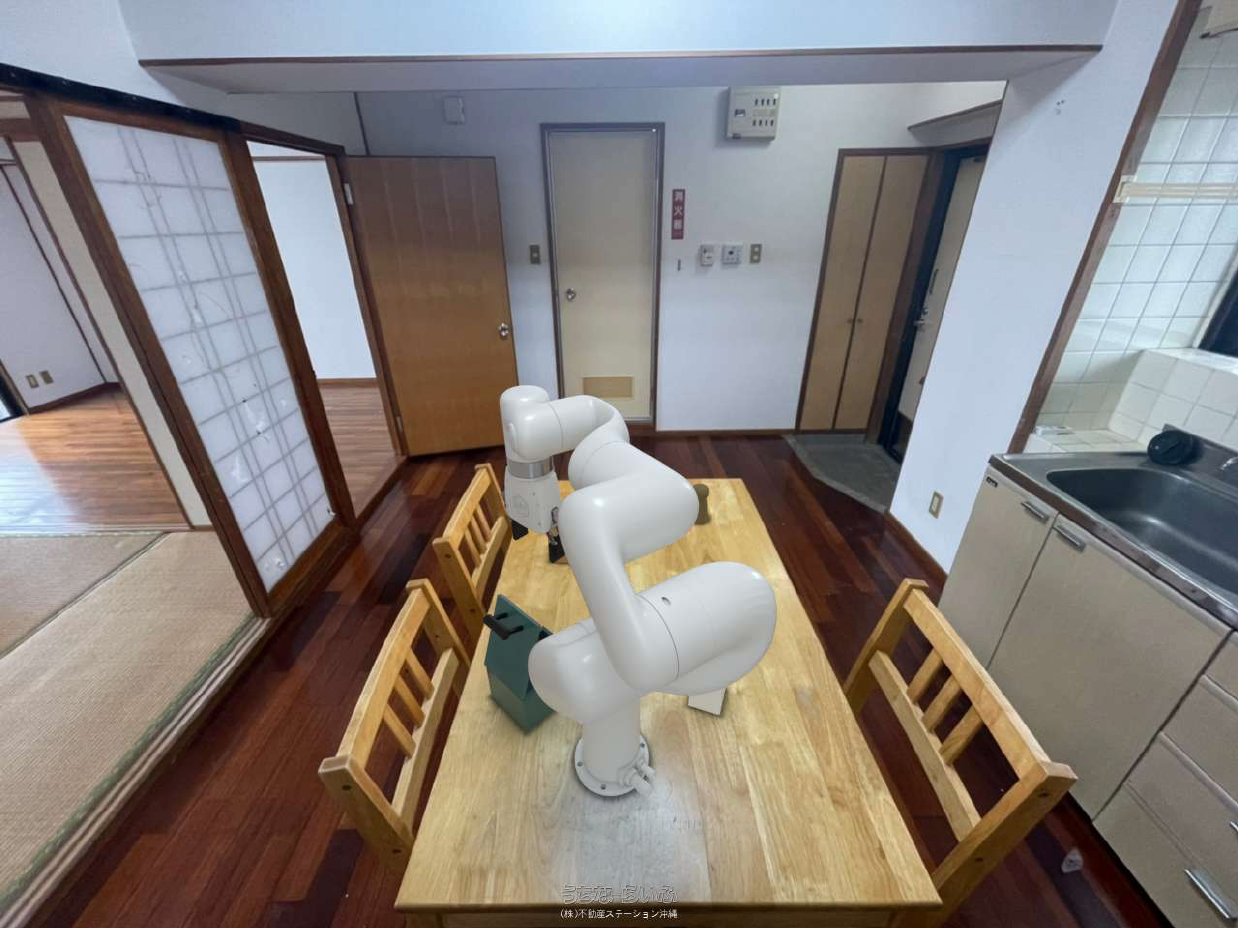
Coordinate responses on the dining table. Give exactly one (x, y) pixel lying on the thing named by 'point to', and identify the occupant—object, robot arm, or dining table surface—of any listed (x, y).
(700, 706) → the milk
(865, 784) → the dining table surface
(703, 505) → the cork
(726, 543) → the dining table surface
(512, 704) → the teal open box
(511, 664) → the lid
